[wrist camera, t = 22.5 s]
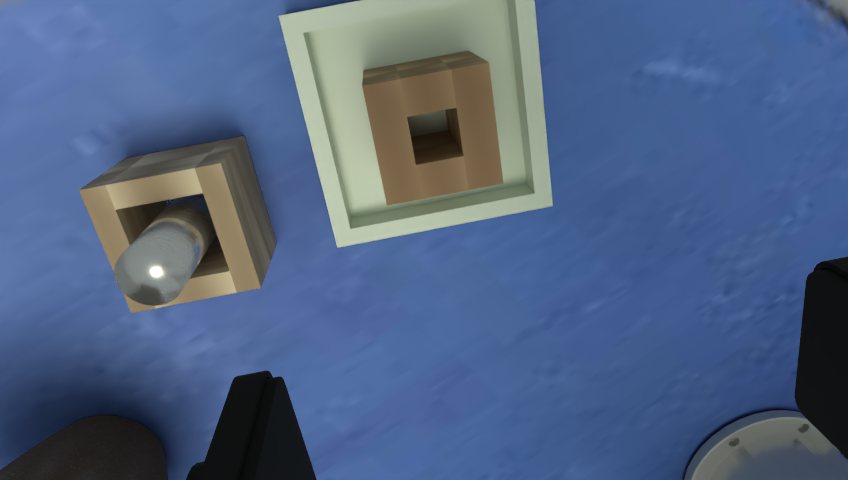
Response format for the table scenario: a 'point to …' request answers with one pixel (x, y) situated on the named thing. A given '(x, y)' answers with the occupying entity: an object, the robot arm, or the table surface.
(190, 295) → the go block
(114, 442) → the plant pot
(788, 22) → the table surface
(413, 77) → the block
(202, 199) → the cylinder
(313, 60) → the tray
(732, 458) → the robot arm
